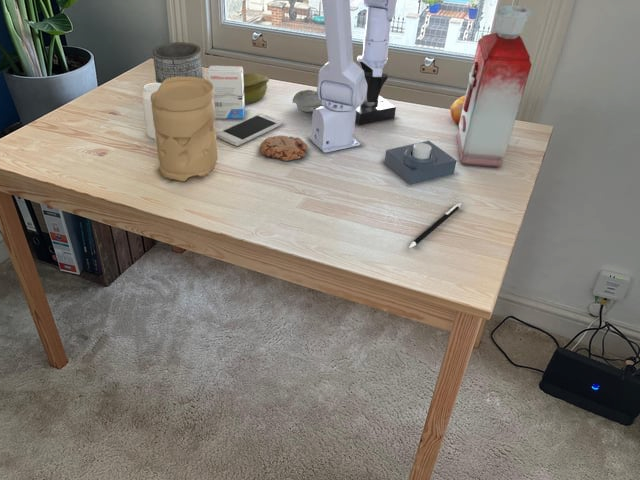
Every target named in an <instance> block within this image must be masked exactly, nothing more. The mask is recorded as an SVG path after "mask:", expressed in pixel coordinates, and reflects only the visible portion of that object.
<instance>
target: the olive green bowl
mask: <svg viewBox="0 0 640 480" xmlns="http://www.w3.org/2000/svg"><path fill="white" fill-rule="evenodd" d="M243 80H244V104H253V103H257V102H258V101H261V100H262V99H263V98H264V97H265V95H266V92H267V90H268V85H267V83H268V82H269V81H270V78H269V77H267V76H263V75H261V74H259V73H255V72H254V73H253V72H250V73H243Z"/></svg>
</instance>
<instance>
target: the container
mask: <svg viewBox="0 0 640 480" xmlns="http://www.w3.org/2000/svg"><path fill="white" fill-rule="evenodd" d="M213 96H214V91H213V85H212V83H211V82H210V81H208V80H207V78H204V77H203V78H199V77H180V76H177V77H171V78H167V79H165V80H164V81H163V82H162V84H161V85H160V87H159V88H158V91H157V92H154V93H152V94H151V103H152V113H153V121H154V127H155V131H156V132H155V135H156V140H155V143H156V149H157V150H156V151H157V156H158V162H159V171H160V174H161V176H162V177H163V178H165V179H166V178H167V179H171V180H175V181H179V182H186V181H187V180H188V179H189V178H190V177H196V176H199V177H200V178H202V177H205V176H207V175H208V174H210V173H211V172H212V171H213V170H214V169H215V167H216V165H217V164H218V162H217V161H218V158H219V155H218V142H217V129H216V126H215V121H216V118H215V106H214V101H213Z"/></svg>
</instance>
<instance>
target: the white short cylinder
mask: <svg viewBox="0 0 640 480" xmlns="http://www.w3.org/2000/svg"><path fill="white" fill-rule="evenodd" d="M416 143H417V144H415V143H414V144H415V145H414V147H413V152H412V156H413V157H414V158H418V159H428V158H430V154H431V149H432V147H431V146H430V145H428V144H425V143H420V142H416Z"/></svg>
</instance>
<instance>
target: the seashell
mask: <svg viewBox="0 0 640 480" xmlns="http://www.w3.org/2000/svg"><path fill="white" fill-rule="evenodd" d="M292 103H293V104H296V106H297V109H298V110H300V111H301V112H304V113H313V111H314V110H315V109H317V108H320V107H321V106H323V105H322V100H320V99H319V97H318V94H317V90H316V91H315V90H313V89H305V90H300V91H298V92H297V93H296V94H295V95H294V96H293V98H292Z"/></svg>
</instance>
